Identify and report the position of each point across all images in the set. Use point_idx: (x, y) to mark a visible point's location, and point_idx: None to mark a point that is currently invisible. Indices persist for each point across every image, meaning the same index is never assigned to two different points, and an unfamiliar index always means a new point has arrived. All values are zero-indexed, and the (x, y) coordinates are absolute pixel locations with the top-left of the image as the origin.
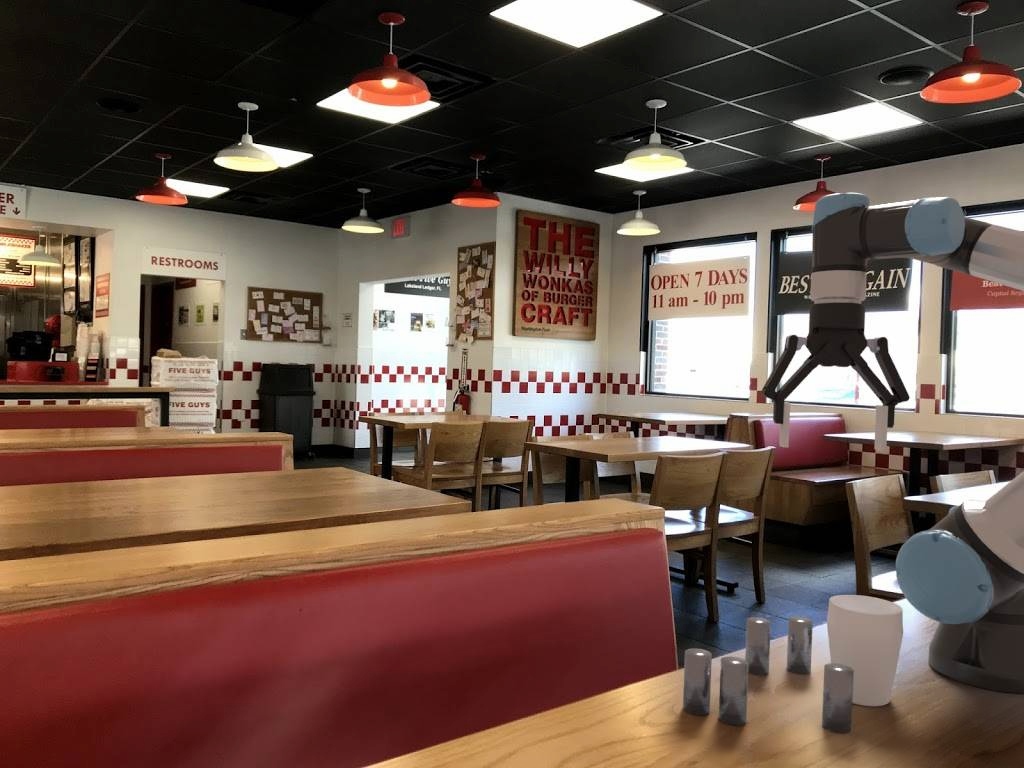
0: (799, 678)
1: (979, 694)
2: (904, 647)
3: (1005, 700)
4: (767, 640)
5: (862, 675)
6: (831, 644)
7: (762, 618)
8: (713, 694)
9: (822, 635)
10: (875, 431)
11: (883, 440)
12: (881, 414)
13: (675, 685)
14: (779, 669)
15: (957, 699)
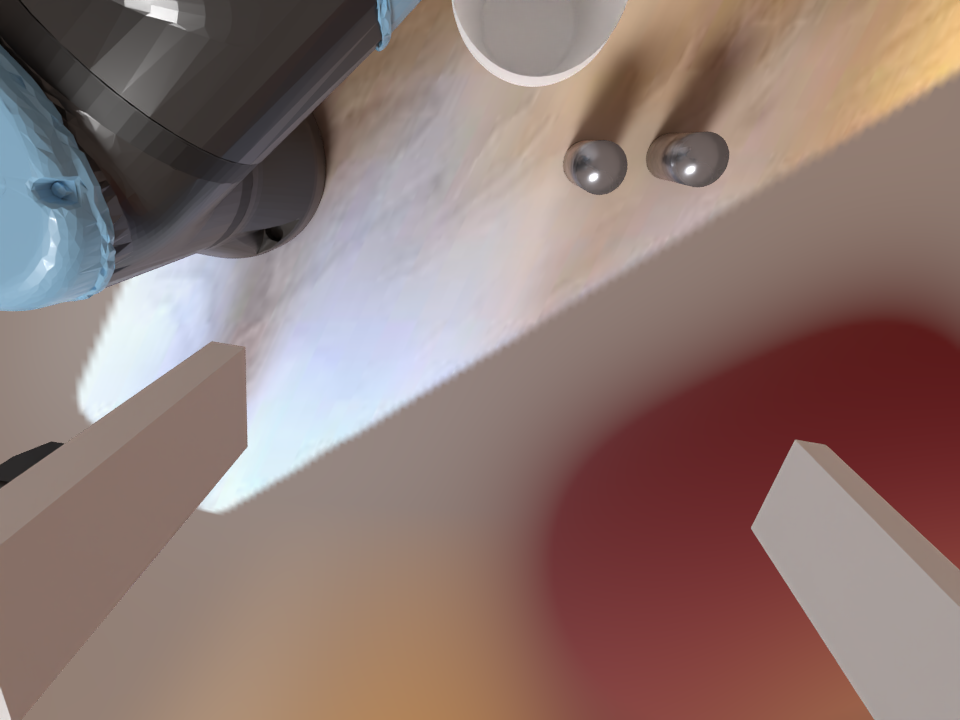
0: (603, 119)
1: None
2: (329, 282)
3: None
4: (681, 135)
5: None
6: (608, 3)
7: (684, 178)
8: (814, 30)
9: (454, 340)
10: (185, 513)
11: (192, 374)
12: (60, 521)
13: (865, 77)
14: None
15: None
